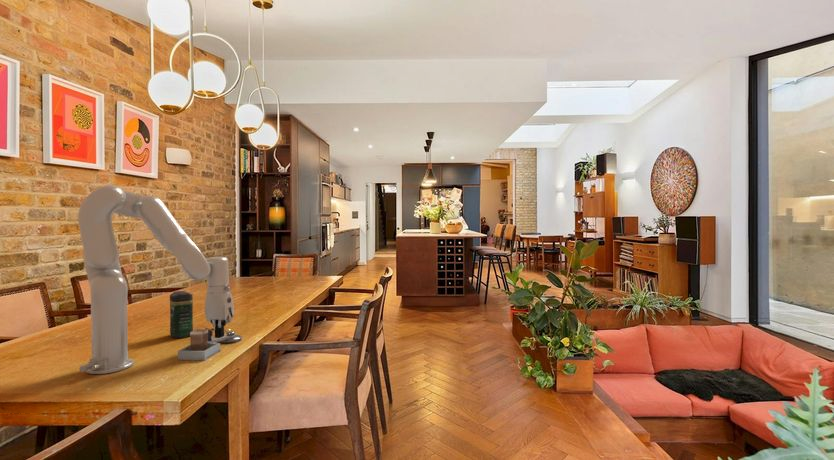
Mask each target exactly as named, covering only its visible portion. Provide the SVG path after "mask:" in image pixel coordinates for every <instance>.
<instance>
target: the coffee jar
mask: <svg viewBox="0 0 834 460" xmlns="http://www.w3.org/2000/svg"><path fill="white" fill-rule="evenodd" d="M193 297H194V296H193V293H191V292H189V291H188V292H187V291H185V290H177V291H173V292H172V293H171V294H170V296H169V307H170V309H169V318H170V320H169V334H170V337H172V338H176V339H177V338H178V339H179V338H181V339H182V338H187V337H190V332H192V331H194V323H193V321H194V314H193V312H194V308H193V305H194V304H193V303H194V300H193V299H194V298H193Z"/></svg>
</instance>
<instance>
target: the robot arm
mask: <svg viewBox="0 0 834 460" xmlns="http://www.w3.org/2000/svg"><path fill="white" fill-rule="evenodd" d="M114 214H118V215H120V216H121V215H122V216H126V217H130V218H134V219H135V218H136V219H140V220H142V222H143V223H144V224H145V226H146V227H147V228H148V229H149V231H150V232H151V234H153V236H154V237H155V239H156V240H157V241H158V243H159V244H160V245H161V246H162V247H163V248H164V249H166V250H167V251H168V252H170V254H171V255H172V256H174V258H175V259H176V260H177V261H178V263H179V264H180V265H181V272H182V273H183V274H184V275H185V276H186V277H188V278H190V279H191V280H194V281H203V280H206V284H207V285H206V291H207V293H206V295H205V300H204V316H205V318H206V321H207V322H209V323H210V324H212V328H214V338H221V337H223V336H224V335H225V326H226V325H227V324H229V323H232V322H233V318H234V317H235V305H234V299H233V295H232V292H230V291H231V289H232V288H231V287H230V277H229V274H230V273H229V259H228V258H227V257H225V256H212V257H205V256H204V254H203V253H202V251H201V250H200V249H199V248H198V246H197V245H196V244H195V242H193V240H192V239H191V238H190V237H189V235H188V234H187V233H186V231H185V230H184V229H183V228H182V226H181V225H180V224H179V222H178V221H177V220H176V218H175V217H174V215H173V214H172V213H171V211H170V210H169V208H168V207H167V206H166V204H165V203H164V201H162V199H160V198H159V197H157V196H154V195H142V194H137V193H134V192H130V191H126V190H124V189H123V188H120V187H119V186H117V185H113V184H107V185H103V186H100V187H99V188H96V189H95V190H94V191H92V192H91V193H89V194H88V195H87V196H86V197H85V198H84V200H82V203H81V204H80V206H79V209H78V214H77V215H78V216H77V217H78V218H77V219H78V221H77V222H78V228H79V233H80V238H81V243H82V258H83V263H84V266H85V272H86V276H87V281H88V285H89V290H90V291H89V292H90V323H91V325H90V328H91V331H90V332H91V357H90V358H89V361H88V363H86V364H83V365H81V366H79V369H78V370H79V372H81V373H85V372H86V373H87V374H91V375H104V374H112V373H115V372H120V371H123V370H126V369H128V368H130V367H132V366H133V365H134V364H135V363H134V359H133V358H132V357H131V358H130V357H129V345H128V344H129V343H128V294H129V293H128V292H129V289H128V282H127V280H126V279H125V277H124V275H123V272H122V268H121V262H120V258H119V257H120V250H119V247H118V244H117V242H116V237H115V234H114V232H115V231H114V226H113V219H112V218H113V215H114Z"/></svg>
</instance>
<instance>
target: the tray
mask: <svg viewBox="0 0 834 460" xmlns="http://www.w3.org/2000/svg"><path fill="white" fill-rule="evenodd" d="M219 352H221V343H220V342H215V343H208V349H207V350H205V351H191V345H190V344H189V345H187V346H184V347H183V348H181V349H179V350H177V360H179V361H180V360H181V361H184V360H185V361H206V360H208V359H210V358H212V357H213V356H215V355H216V354H219Z"/></svg>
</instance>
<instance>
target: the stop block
mask: <svg viewBox="0 0 834 460" xmlns="http://www.w3.org/2000/svg"><path fill="white" fill-rule="evenodd" d="M189 337H190V338H189V340H190V341H189V342H190V344H189V345H191V351H205V350H207V349H208V330H207V329H204V328H203V329H202V328H201V329H200V328H199V329H198V328H197V329H195V330H194V329H193V331H192V332H190V336H189Z"/></svg>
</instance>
